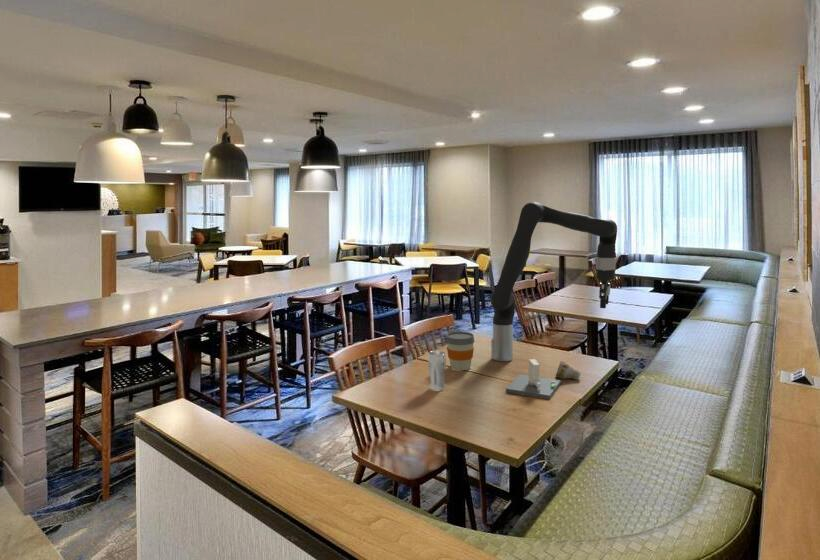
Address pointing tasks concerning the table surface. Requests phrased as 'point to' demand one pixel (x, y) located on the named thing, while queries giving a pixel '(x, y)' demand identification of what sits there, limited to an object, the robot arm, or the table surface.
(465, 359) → the reusable coffee cup
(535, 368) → the peg knob
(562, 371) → the mug
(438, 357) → the beer glass
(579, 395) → the table surface
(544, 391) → the dial board
